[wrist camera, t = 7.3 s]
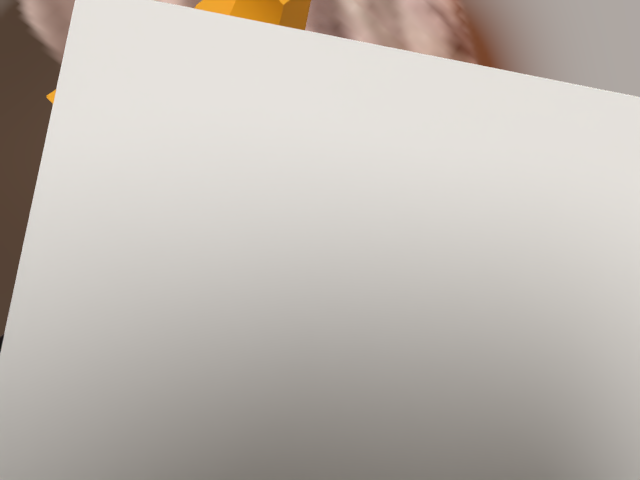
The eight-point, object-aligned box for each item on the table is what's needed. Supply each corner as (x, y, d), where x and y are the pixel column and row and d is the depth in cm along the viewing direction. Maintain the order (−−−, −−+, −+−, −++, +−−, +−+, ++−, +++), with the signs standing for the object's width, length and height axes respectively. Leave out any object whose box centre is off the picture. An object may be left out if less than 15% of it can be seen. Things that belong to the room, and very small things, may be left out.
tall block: (340, 390, 16) (711, 766, 3) (196, 381, 15) (-107, 853, 2) (351, 252, 17) (674, 103, 4) (216, 236, 16) (79, -14, 3)
